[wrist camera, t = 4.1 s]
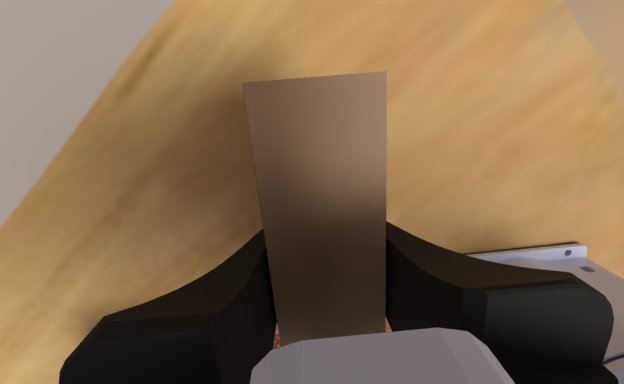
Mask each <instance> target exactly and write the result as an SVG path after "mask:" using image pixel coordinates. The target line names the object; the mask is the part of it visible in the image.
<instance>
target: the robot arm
mask: <svg viewBox="0 0 624 384" xmlns="http://www.w3.org/2000/svg"><path fill="white" fill-rule="evenodd" d="M586 254H587V247H586V246H585V245H583V244H581V243H576V244H567V245H557V246H548V247H538V248H529V249H519V250H510V251H500V252H490V253H481V254H471V255H463V254H460V253H457V252H454V251H451V250H448V249H445V248H442V247H439V246H437V245H434V244H432V243H429V242H427V241H425V240H422V239H420V238H418V237H416V236H414V235H412V234H410V233H408V232H406V231H404V230H402V229H400V228H398V227H396V226H394V225H392V224H391V223H389V222H387V221H386V311H385V316H386V318H387V320H388V322H389V325H390V327H391V329H392V331H393V332H385V333H375V334H364V335H354V336H343V337H333V338H323V339H312V340H302V341H299V342H296V343H292V344H289V345H286V346H283V347H280V348H277V349H273V345H274V338H275V332H276V326H277V318H276V311H275V304H274V297H273V290H272V283H271V276H270V269H269V263H268V256H267V249H266V242H265V235H264V229H262V230H260V231H259V232H258V233H257V234H256V235H255V236H254V237H253V238H252V239H251V240H249V241H248V242H247V243H246V244H245V245H244V246H243V247H242V248H241V249H239V250H238V251H237V252H236V253H234V254H233V255H232V256H231V257H230V258H228V259H227V260H226V261H225V262H223V263H222V264H220V265H219V266H218V267H216V268H215V269H213V270H211V271H210V272H208V273H207V274H205V275H203V276H202V277H200V278H198V279H196V280H194V281H192V282H190V283H189V284H187V285H185V286H183V287H181V288H179V289H177V290H175V291H172V292H170V293H168V294H166V295H163V296H161V297H158V298H156V299H153V300H151V301H148V302H146V303H143V304H140V305H137V306H134V307H131V308H128V309H125V310H122V311H119V312H116V313H113V314H110V315H106V316H104V317H103V318H102V319H101V320H100V322H99V323H98V324H97V325H96V326H95V327H94V328H93V329H92V331H91V332H90V333H89V334H88V335H87V336H86V337H85V339H84V340H83V341H82V342H81V343H80V344H79V345H78V346H77V348H76V349H75V350H74V351H73V352H72V353H71V354H70V356H69V357H68V358H67V359H66V360H65V362H64V364H63V366H62V368H61V370H60V376H59V384H624V279H622V278H621V277H619V276H617V275H615V274H614V273H612V272H610V271H608V270H606V269H605V268H603V267H601V266H599V265H598V264H596V263H594V262H592V261H591V260H589V259H587V258H586Z"/></svg>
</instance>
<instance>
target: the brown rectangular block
mask: <svg viewBox="0 0 624 384" xmlns="http://www.w3.org/2000/svg"><path fill="white" fill-rule="evenodd" d="M242 84H243V91H244V98H245V105H246V112H247V118H248V125H249V132H250V139H251V146H252V153H253V160H254V166H255V173H256V180H257V187H258V194H259V201H260V208H261V215H262V221H263V228H264V235H265V242H266V249H267V256H268V263H269V269H270V276H271V283H272V290H273V297H274V304H275V311H276V318H277V324H278V331H279V338H280V345H281V347H283V346H286V345H289V344H292V343H296V342H299V341H302V340H312V339H323V338H333V337H343V336H354V335H364V334H375V333H385V311H386V136H387V71H384V72H371V73H359V74H347V75H334V76H322V77H310V78H298V79H285V80H273V81H261V82H248V83H242Z"/></svg>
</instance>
